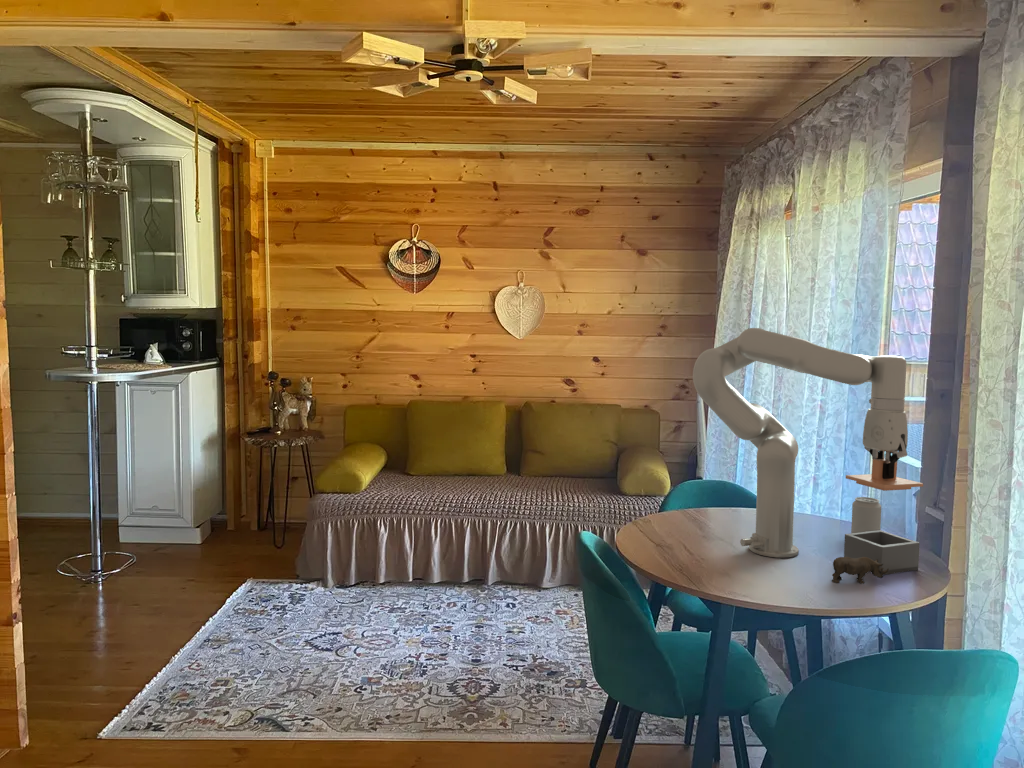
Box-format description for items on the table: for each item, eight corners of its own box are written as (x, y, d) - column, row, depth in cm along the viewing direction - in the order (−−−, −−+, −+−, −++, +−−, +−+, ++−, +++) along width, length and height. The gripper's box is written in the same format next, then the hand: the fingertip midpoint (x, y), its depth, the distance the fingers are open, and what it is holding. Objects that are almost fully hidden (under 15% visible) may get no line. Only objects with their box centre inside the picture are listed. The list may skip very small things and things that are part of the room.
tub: (881, 575, 178) (882, 547, 178) (843, 560, 189) (844, 534, 189) (918, 570, 182) (919, 542, 182) (879, 555, 193) (880, 530, 193)
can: (877, 545, 203) (878, 503, 202) (848, 540, 207) (849, 499, 206) (882, 539, 209) (884, 498, 208) (854, 534, 213) (855, 494, 212)
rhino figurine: (893, 584, 172) (894, 559, 171) (834, 584, 172) (835, 559, 172) (884, 578, 176) (885, 554, 176) (827, 578, 176) (828, 553, 176)
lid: (884, 492, 176) (886, 464, 176) (845, 482, 188) (847, 456, 187) (922, 490, 180) (924, 463, 180) (882, 480, 192) (884, 454, 192)
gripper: (851, 402, 189) (847, 472, 190) (902, 409, 174) (898, 485, 175) (873, 401, 191) (870, 470, 193) (926, 408, 176) (922, 483, 178)
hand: (883, 476), depth 184 cm, fingers closed on lid
